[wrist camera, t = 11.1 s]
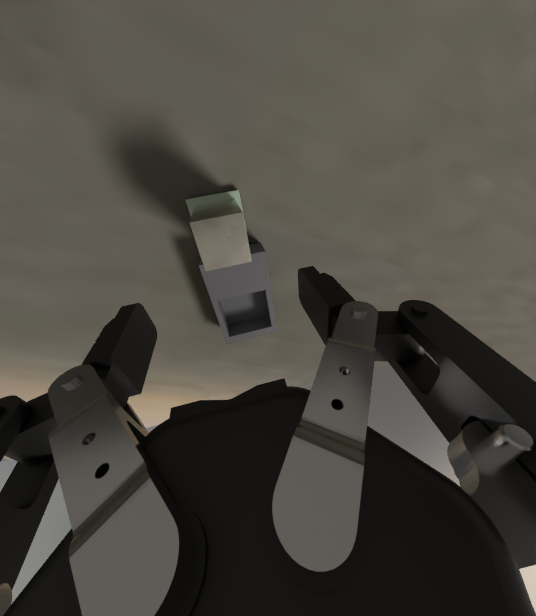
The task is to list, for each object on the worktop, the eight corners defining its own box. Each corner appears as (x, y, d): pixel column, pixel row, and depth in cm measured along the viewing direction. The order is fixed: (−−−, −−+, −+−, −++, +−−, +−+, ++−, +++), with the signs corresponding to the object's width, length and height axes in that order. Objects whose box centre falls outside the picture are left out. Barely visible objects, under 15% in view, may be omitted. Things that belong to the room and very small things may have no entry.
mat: (185, 199, 24) (185, 200, 24) (238, 189, 25) (238, 190, 24) (202, 250, 28) (202, 252, 27) (248, 240, 28) (248, 242, 28)
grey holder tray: (199, 255, 28) (198, 265, 25) (259, 242, 29) (265, 251, 26) (225, 329, 36) (226, 344, 33) (272, 317, 36) (277, 331, 34)
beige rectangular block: (194, 206, 24) (189, 222, 18) (234, 198, 25) (242, 212, 18) (206, 244, 27) (205, 271, 21) (242, 237, 27) (252, 261, 21)
